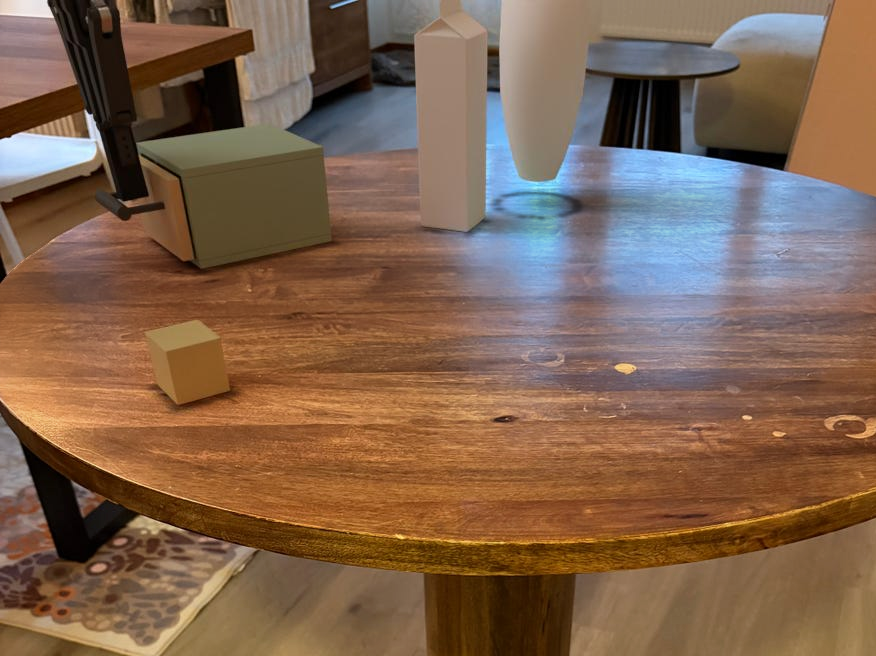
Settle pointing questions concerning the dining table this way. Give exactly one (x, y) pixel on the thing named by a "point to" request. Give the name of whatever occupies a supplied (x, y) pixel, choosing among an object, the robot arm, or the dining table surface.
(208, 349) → the block
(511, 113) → the cream tapered vase
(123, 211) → the drawer
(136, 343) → the dining table surface
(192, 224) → the cabinet
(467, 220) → the milk
